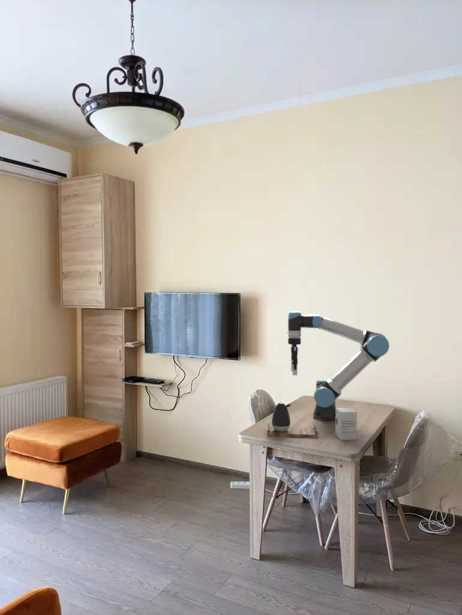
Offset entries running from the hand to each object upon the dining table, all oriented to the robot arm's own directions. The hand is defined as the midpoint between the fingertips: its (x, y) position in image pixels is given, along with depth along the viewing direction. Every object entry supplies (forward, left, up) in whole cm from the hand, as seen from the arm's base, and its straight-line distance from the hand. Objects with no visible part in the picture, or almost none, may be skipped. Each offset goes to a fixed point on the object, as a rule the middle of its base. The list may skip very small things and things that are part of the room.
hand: (294, 373), depth 284 cm
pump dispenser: (+8, +25, -27) cm, 38 cm away
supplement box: (-26, +29, -29) cm, 48 cm away
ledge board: (+2, +25, -29) cm, 38 cm away
